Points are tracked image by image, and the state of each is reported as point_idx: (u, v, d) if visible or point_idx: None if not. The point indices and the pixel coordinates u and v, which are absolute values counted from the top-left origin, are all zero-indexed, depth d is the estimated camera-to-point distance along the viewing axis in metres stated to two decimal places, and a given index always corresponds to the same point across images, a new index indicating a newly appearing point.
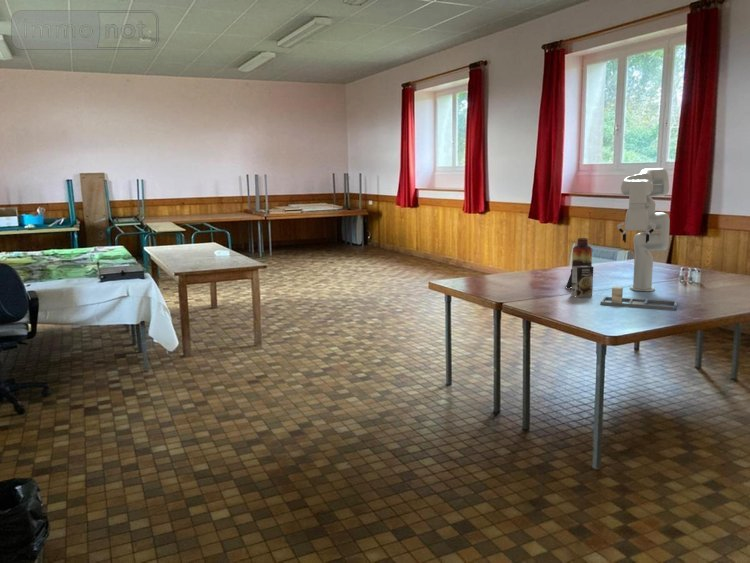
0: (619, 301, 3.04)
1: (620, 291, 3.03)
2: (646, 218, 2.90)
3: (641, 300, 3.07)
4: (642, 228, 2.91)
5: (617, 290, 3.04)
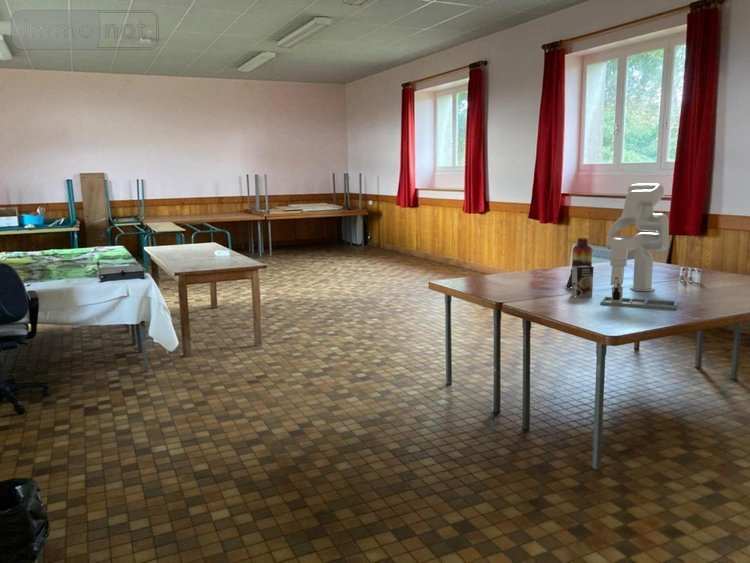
0: (619, 301, 3.04)
1: (620, 291, 3.03)
2: None
3: (641, 300, 3.07)
4: (622, 282, 3.06)
5: None
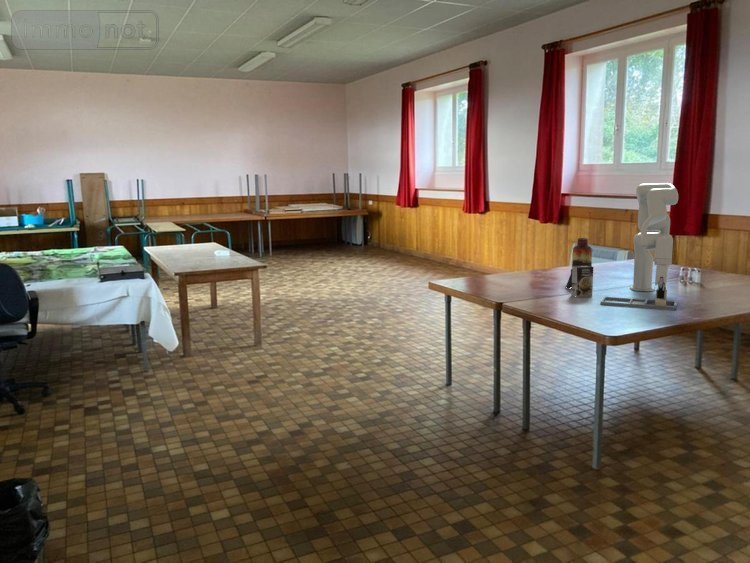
0: (663, 304, 2.95)
1: (664, 294, 2.94)
2: None
3: (641, 300, 3.07)
4: None
5: None
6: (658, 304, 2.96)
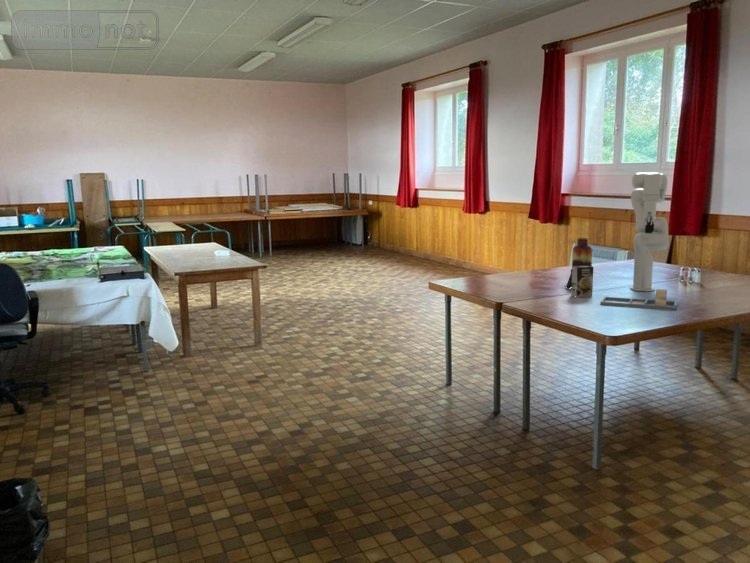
0: (663, 304, 2.95)
1: (664, 294, 2.94)
2: None
3: (641, 300, 3.07)
4: None
5: (661, 293, 2.94)
6: (658, 304, 2.96)
